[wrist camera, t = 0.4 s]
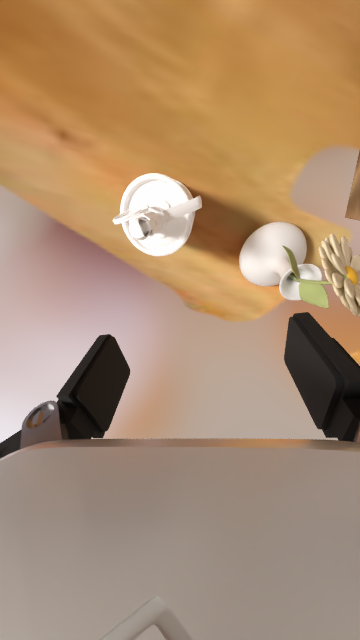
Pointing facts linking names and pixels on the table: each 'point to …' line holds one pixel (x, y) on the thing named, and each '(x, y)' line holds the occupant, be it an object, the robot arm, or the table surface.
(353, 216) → the stand
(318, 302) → the flower in vase
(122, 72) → the table surface
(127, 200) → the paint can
